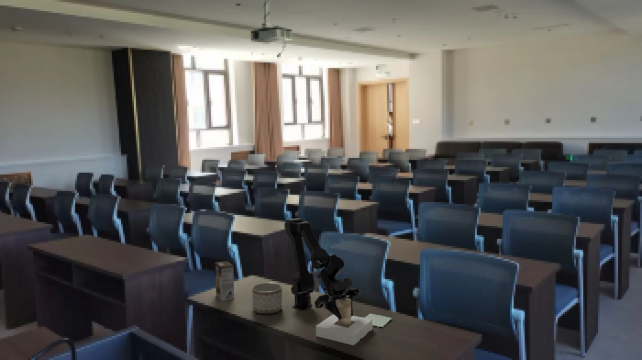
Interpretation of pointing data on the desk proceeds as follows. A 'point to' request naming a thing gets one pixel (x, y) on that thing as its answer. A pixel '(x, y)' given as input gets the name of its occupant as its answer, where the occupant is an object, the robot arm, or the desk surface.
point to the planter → (267, 297)
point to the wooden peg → (344, 312)
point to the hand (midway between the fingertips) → (346, 317)
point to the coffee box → (224, 280)
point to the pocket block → (344, 329)
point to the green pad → (378, 320)
